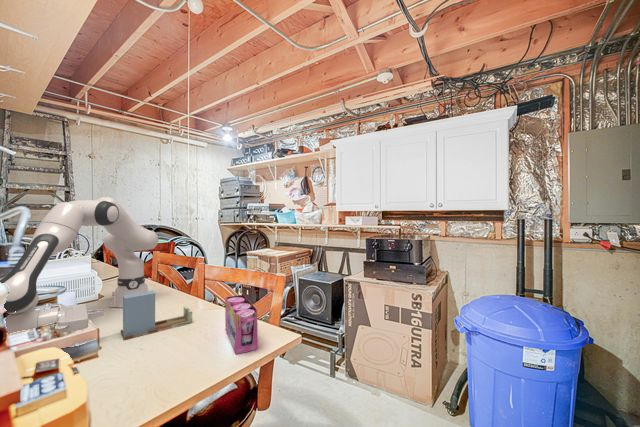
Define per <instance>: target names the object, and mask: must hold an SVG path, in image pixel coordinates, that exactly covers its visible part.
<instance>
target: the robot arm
mask: <svg viewBox="0 0 640 427" xmlns="http://www.w3.org/2000/svg"><path fill="white" fill-rule="evenodd" d="M82 226H84V227H89V226H91V227H93V226H96V227H97V226H98V227H99V226H102V227H103V228H104V229H105V230H106V231H107V233H106V234H105V235H104V237H103V240H102V242H103V246H104V247H105V248H106V249H107V250H109V251H110V252H111V253H112V254H113V256H114V257H115V259H116V261H117V268H118V278H117V281H116V283H117V287H116V288H115V289H114V291H112V293H111V296H112V297H113V298H112V300H111V302H109V305H108V308H122V309H123V295H129V294H135V293H141V292H148V291H149V285H148V284H147V283H145V282H146V276H145V262H144V260H143V259H142V258H141V257H138V256H136V254H135V252H137V251H138V252H139V251H148V250H153V249H155V248H156V247H157V246H158V244H159V236H158V234H157V232H155V231H154V230H150V229H148V228H146V227H143V226H142V225H140V224H138V223H137V222H135V221H134V220H133V219H132V218H131V217H130V215H129V214H128V213H127V211H126V210H125V209H124V208H123V206H122V205H121V204H120V203H119V202H118V201H116V199H115V198H112V197H111V196H102V197H99V198H96V199H95V200H94V199H68V200H64V201H61V202H59V203H57V204H55V205H54V206H53V207H52V208H51V209H50V210H49V211H48V212H47V213H46V215H45V216H44V217H43V218H42V219H41V221H40V222H39V224H38V226H37V228H36V229H35V231H34V233H33V235H32V238H31V240H30V243H29V245H28V247H27V248H26V250H25V251H24V253H23V254H22V255H21V257H20V258H19V259H18V261H17V262H16V264H15V266H14V267H12V269H11V270H10V272H9V273H8V274H6V275H5V276H4V277H2V278H1V279H0V282H1V283H5V284H7V285H8V286H9V287H10V293H9V295H8V298H7V300H6V303H5V304H4V308H5V309H6V310H7V311H6V313H8V314H10V316H9V317H7V318H6V319H5V321H6V327H7V331H8V334H10V333H13V332H17V331H22V330H28V329H33V328H37V326H38V327H39V326H41V325H46V324H49V323H53V322H57V321H58V325H56V326H55V327H54V326H53V325H52V326H50V330H51V331H53V330H54V331H58V334H59V333H60V334H61V333H71V332H75V331H80V330H85V329H87V328H89V321H90V320H94V319H96V318H98V317H103V316H105V310H104V309H103V308H102V309H101V308H100V309H88V305H87V304H81V303H80V304H72V305H63V306H60V305H53V306H51V307H48V308H44V309H39V310H38V309H37V310H36V307H37V304H38V303H39V301H40V300H39V298H40V296H39V293H38V291H37V281H38V278H39V276H40V274H41V273H42V271H43V270H44V268H45V267H46V265H47V263H48V262H49V260H50V258H52V257H53V255H55V254H57V253H61V252H64V251H66V250H67V249H68V248H69V247H70V246H71V244H72V243H73V242H74V241H75V239H76V237H77V236H78V233H79V231H80V229H81V227H82ZM134 251H135V252H134ZM15 311H16V313H14V314H13V312H15Z"/></svg>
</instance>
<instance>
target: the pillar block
mask: <svg viewBox="0 0 640 427" xmlns="http://www.w3.org/2000/svg"><path fill="white" fill-rule="evenodd" d="M155 322H156V292H155V291H154V290H148V292H141V293H135V294H129V295H123V308H122V330H123V335H124V337H125V336H129V335H134V336H136V335H140V334H144V333H148V331H150V330H154V329H155Z"/></svg>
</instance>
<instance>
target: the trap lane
mask: <svg viewBox="0 0 640 427" xmlns="http://www.w3.org/2000/svg"><path fill="white" fill-rule="evenodd" d="M191 324H193V311H192V310H191V309H190V308H188V307H187V306H183V315H182V316H177V317H172V318H167V319H163V320H158V321H155V329H154V330H150V331H148V333H144V334H140V335H136V336H134V335H129V336H125V337H124V335H123V329H121V330H120V334H121V337H122V340H123V341H128V340H131V339H136V338H140V337H144V336H148V335H151V334H156V333H160V332H164V331H168V330H171V329H175V328H178V327H179V328H180V327H183V326H188V325H191Z"/></svg>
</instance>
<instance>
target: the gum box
mask: <svg viewBox="0 0 640 427" xmlns="http://www.w3.org/2000/svg"><path fill="white" fill-rule="evenodd" d="M224 303H225V304H224V305H225V310H224V311H225V315H224V316H225V319H224V320H225V322H224V323H225V332H226V335H227V337H228V340H229V343H230V344H231V347H232V350H233V351H234V354H235V355H238V354H245V353H249V352H252V351H257V350H258V348H259V346H258V342H259V341H258V340H259V338H258V337H259V336H258V330H259V329H258V310H257V308H256V307H255V305H253V304H252V302H251V301H250V300H249V299H248V298H247V297H246V296H245V294H239V295H231V296H225V301H224Z"/></svg>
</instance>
